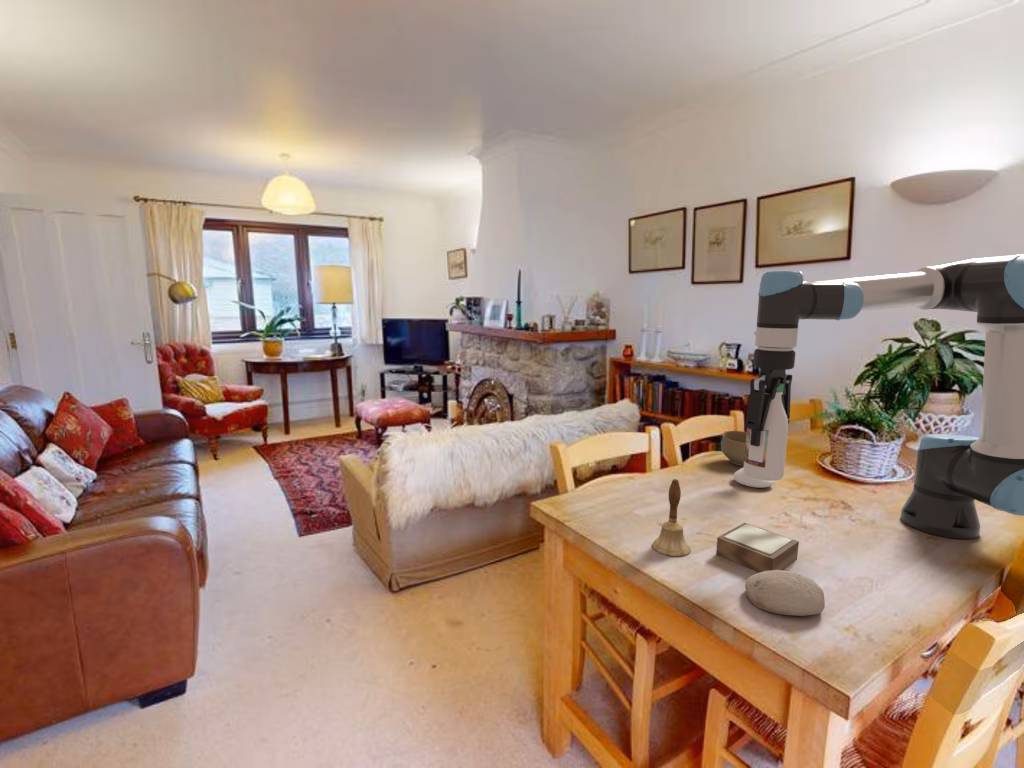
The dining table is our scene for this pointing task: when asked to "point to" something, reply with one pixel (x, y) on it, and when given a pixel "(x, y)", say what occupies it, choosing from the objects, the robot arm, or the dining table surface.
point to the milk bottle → (770, 443)
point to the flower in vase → (751, 480)
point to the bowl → (734, 446)
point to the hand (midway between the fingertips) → (764, 456)
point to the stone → (785, 593)
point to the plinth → (757, 548)
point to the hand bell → (672, 528)
